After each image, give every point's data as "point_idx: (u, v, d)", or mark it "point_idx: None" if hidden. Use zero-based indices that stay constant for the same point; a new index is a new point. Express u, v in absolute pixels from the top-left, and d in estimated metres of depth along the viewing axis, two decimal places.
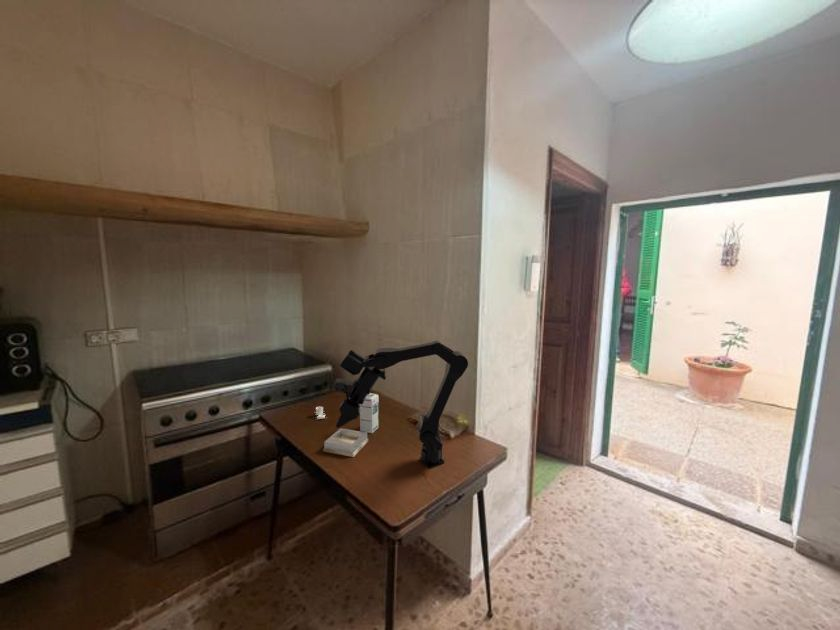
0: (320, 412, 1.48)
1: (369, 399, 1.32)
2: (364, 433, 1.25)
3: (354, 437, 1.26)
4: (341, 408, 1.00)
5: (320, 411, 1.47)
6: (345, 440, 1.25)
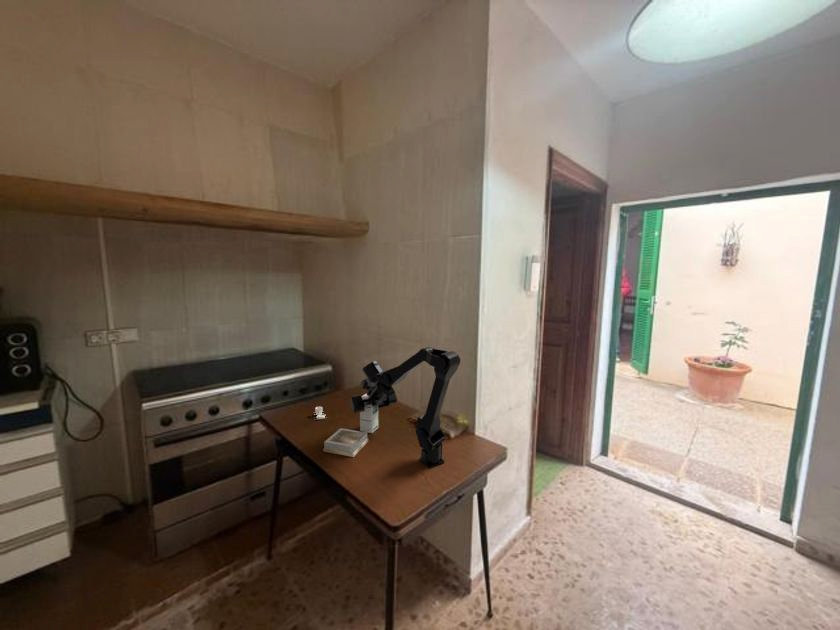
0: (319, 412, 1.47)
1: None
2: (364, 433, 1.25)
3: (354, 437, 1.26)
4: (350, 398, 1.27)
5: (319, 411, 1.47)
6: (345, 440, 1.25)
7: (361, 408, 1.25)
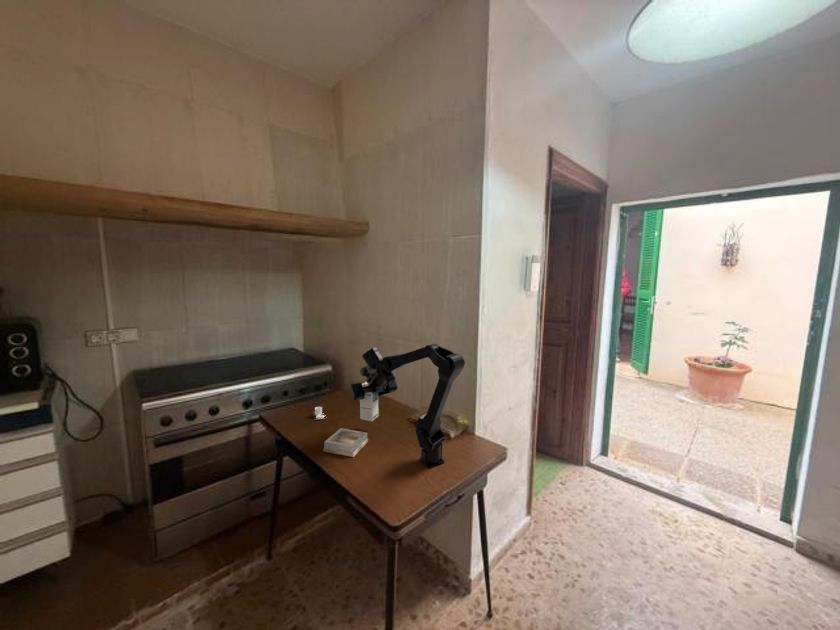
0: (319, 412, 1.47)
1: None
2: (364, 433, 1.25)
3: (354, 437, 1.26)
4: (350, 386, 1.27)
5: (319, 411, 1.47)
6: (345, 440, 1.25)
7: (361, 395, 1.24)
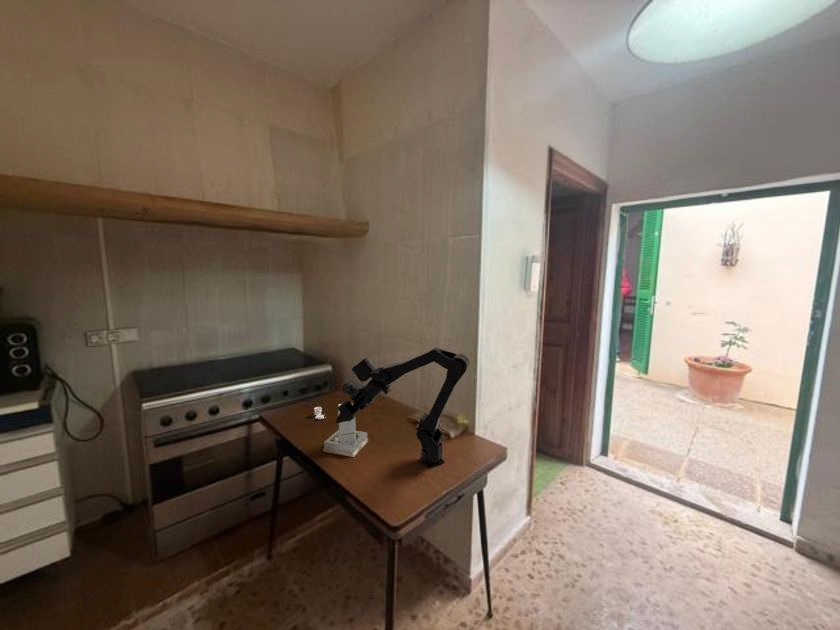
0: (319, 412, 1.47)
1: None
2: (364, 433, 1.25)
3: None
4: (339, 408, 1.11)
5: (319, 411, 1.47)
6: None
7: (355, 414, 1.12)
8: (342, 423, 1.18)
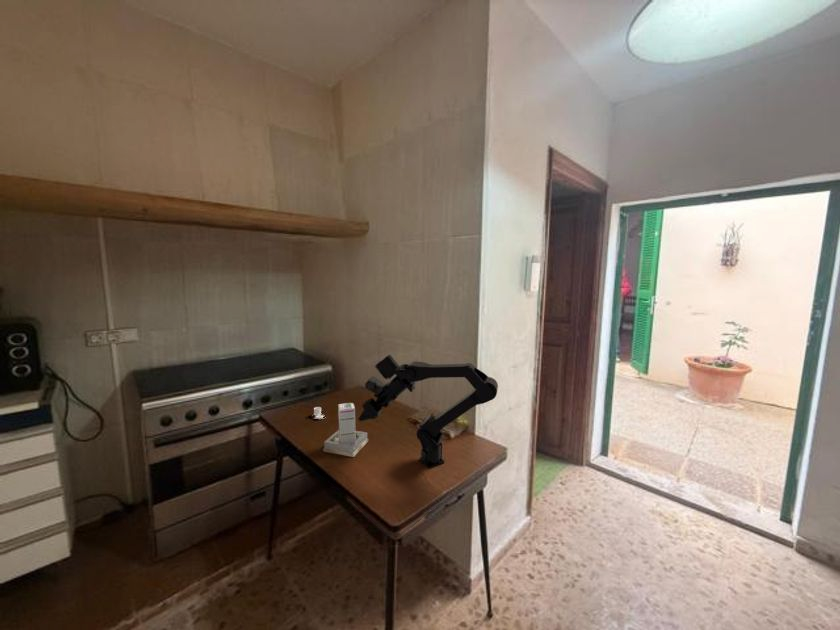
0: (318, 412, 1.47)
1: (351, 409, 1.19)
2: (364, 433, 1.25)
3: None
4: (363, 405, 1.08)
5: (318, 411, 1.47)
6: None
7: (380, 412, 1.10)
8: (342, 423, 1.18)
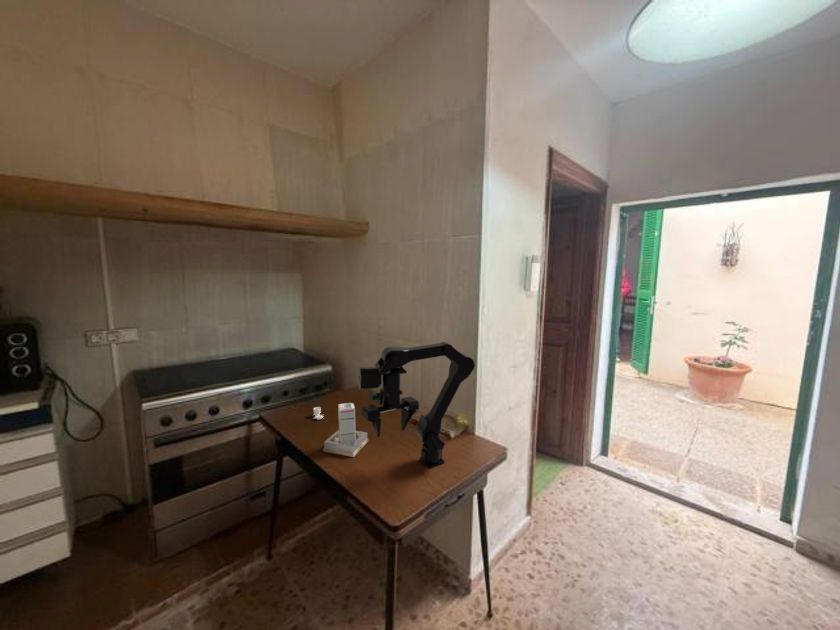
0: (318, 413, 1.47)
1: (351, 409, 1.19)
2: (364, 433, 1.25)
3: None
4: (361, 412, 1.04)
5: (318, 412, 1.47)
6: None
7: (376, 412, 1.01)
8: (342, 423, 1.18)
